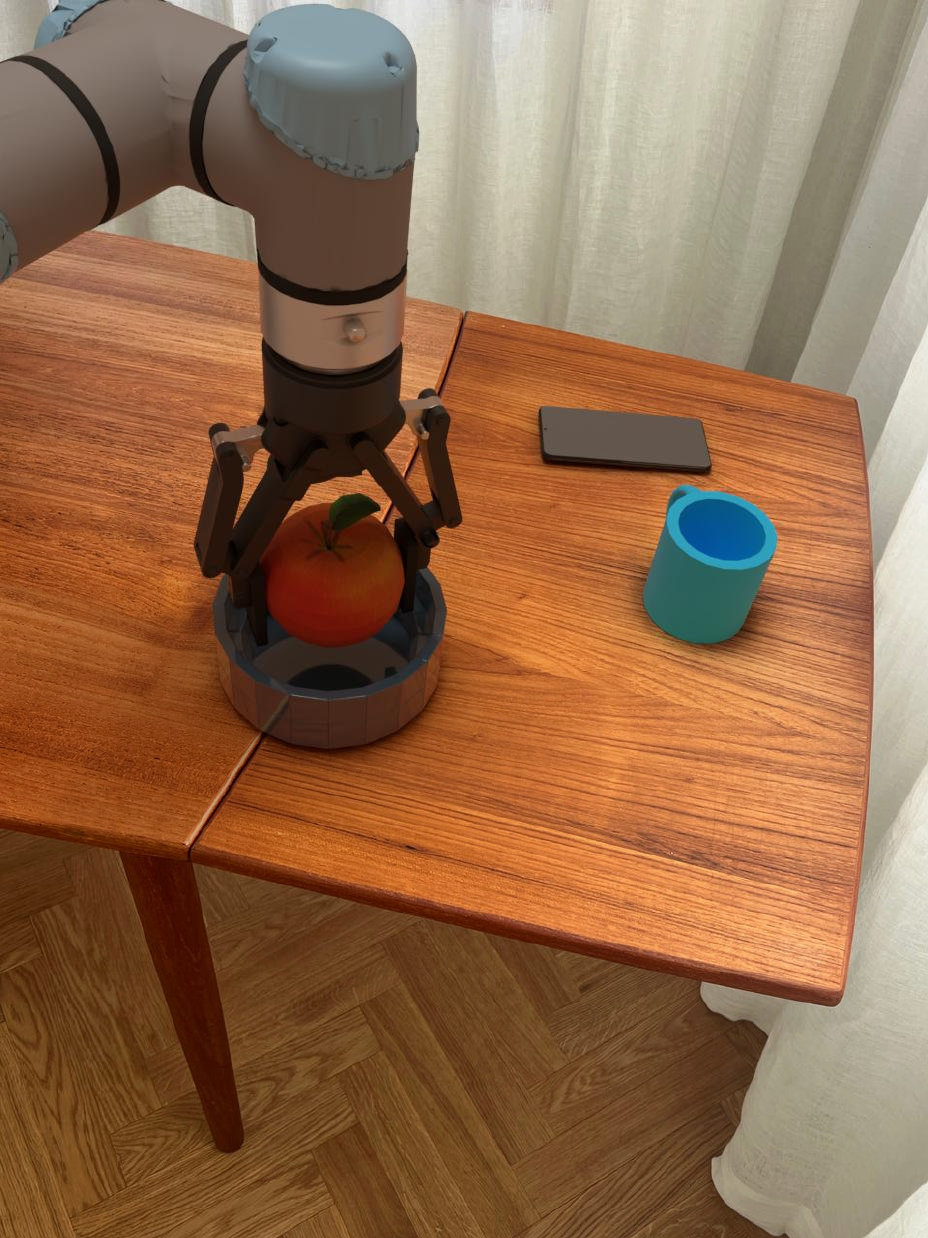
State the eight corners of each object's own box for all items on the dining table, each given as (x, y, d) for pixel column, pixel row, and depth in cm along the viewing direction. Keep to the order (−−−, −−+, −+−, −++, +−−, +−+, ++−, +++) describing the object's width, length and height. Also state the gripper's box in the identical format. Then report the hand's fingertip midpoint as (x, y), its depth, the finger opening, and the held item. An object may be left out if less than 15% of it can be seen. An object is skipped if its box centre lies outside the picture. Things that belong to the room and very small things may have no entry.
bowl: (175, 699, 76) (166, 643, 72) (289, 555, 86) (287, 498, 82) (379, 787, 73) (382, 735, 69) (473, 628, 83) (481, 573, 78)
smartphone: (713, 467, 96) (543, 454, 95) (710, 475, 97) (541, 462, 96) (701, 417, 101) (538, 403, 100) (699, 425, 102) (537, 411, 100)
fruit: (235, 597, 76) (225, 489, 69) (356, 550, 80) (360, 443, 73) (301, 694, 72) (298, 589, 64) (426, 639, 76) (438, 534, 68)
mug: (761, 638, 85) (795, 565, 79) (661, 648, 83) (687, 574, 77) (708, 529, 93) (735, 453, 86) (615, 536, 91) (636, 460, 85)
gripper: (133, 413, 53) (179, 695, 70) (550, 347, 60) (501, 619, 77) (106, 324, 58) (155, 609, 75) (497, 272, 64) (462, 544, 81)
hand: (331, 614), depth 76 cm, fingers closed on fruit, 9 cm apart
